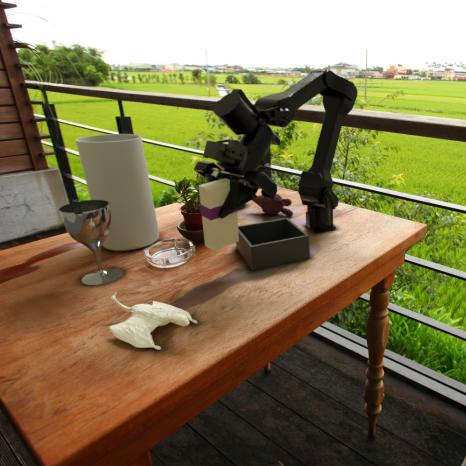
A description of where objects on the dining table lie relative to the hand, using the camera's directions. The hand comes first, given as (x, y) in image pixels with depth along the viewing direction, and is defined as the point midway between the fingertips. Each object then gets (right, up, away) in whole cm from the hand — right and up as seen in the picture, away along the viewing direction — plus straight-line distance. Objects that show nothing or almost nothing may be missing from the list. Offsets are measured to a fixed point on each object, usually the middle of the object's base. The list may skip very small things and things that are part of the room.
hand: (214, 215), depth 75 cm
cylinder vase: (-27, -6, +20) cm, 34 cm away
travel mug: (-10, +5, +47) cm, 48 cm away
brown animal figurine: (+3, +2, +41) cm, 41 cm away
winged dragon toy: (-7, -19, -11) cm, 23 cm away
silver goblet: (-24, -12, +4) cm, 27 cm away
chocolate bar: (0, -6, +4) cm, 7 cm away
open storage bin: (+8, -8, +15) cm, 19 cm away
